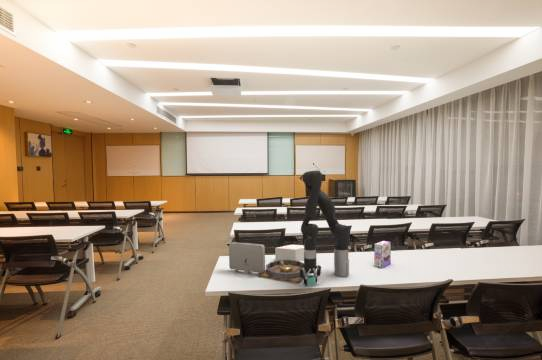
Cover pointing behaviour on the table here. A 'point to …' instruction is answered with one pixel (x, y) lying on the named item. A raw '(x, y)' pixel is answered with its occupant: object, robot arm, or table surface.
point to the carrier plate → (277, 269)
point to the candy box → (382, 254)
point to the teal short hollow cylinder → (311, 281)
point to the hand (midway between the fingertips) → (310, 283)
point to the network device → (247, 258)
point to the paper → (290, 253)
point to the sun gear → (286, 268)
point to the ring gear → (284, 275)
